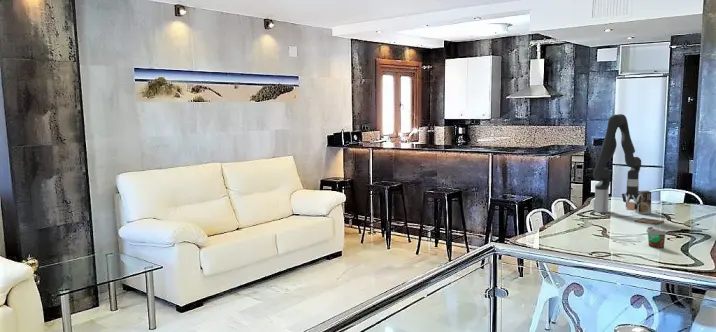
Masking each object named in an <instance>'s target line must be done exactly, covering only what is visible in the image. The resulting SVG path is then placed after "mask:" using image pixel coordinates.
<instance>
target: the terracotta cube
mask: <svg viewBox="0 0 716 332" xmlns="http://www.w3.org/2000/svg"><path fill="white" fill-rule="evenodd" d="M636 210H637V209H636ZM626 211H634V212H635V202H634V201H629V202H628V203H627V207H626Z"/></svg>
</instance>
